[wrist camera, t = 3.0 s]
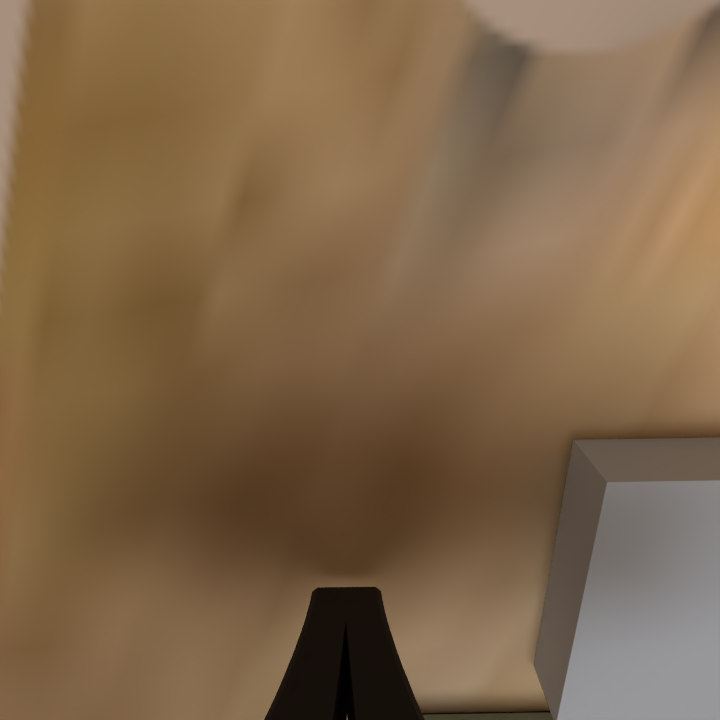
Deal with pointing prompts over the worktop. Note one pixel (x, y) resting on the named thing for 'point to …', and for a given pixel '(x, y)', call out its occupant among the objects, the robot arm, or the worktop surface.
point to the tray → (491, 716)
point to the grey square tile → (635, 584)
